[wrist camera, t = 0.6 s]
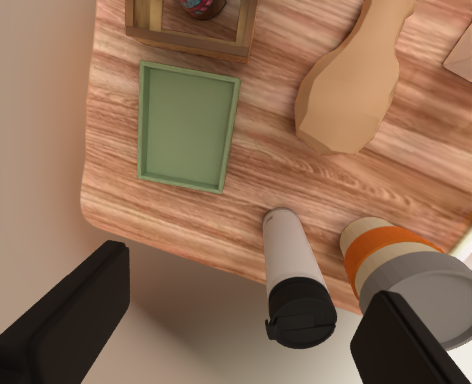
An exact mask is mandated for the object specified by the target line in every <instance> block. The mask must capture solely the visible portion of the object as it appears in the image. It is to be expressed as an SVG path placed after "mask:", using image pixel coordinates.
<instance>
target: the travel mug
mask: <svg viewBox="0 0 472 384" xmlns="http://www.w3.org/2000/svg"><path fill="white" fill-rule="evenodd" d="M262 227H263V242H264V256H265V270H266V285H267V299H268V306H269V316H270V319H271V320H270V322H269V325H268V320H266V321H265V325H266V331H267V335H268V337H269V339H270V340H276V341H277V342H278V343H280V344H281V345H283V346H286V347H288V348H293V349H306V348H310V347H314V346H316V345H319V344H320V343H322V342H324V341H325V340H326V339H328V338H329V337H330V336H331V334H332V333H333V332H334V329H335V327H336V325H335V323H336V321H337V313H336V310H335V307H334V305H333V302H332V300H331V297H330V293H329V291H328V289H327V286H326V284H325V281H324V279H323V276H322V274H321V271H320V269H319V267H318V264H317V262H316V259H315V257H314V254H313V252H312V249H311V247H310V245H309V242H308V240H307V237H306V235H305V232H304V230H303V228H302V225H301V223H300V220H299V218H298V216H297V215H296V213H295V212H293V211H292V210H290V209H287V208H275V209H273V210H271V211H269V212H268V213H267V214H266V215H265V217H264V219H263V222H262Z"/></svg>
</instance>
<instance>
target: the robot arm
mask: <svg viewBox="0 0 472 384" xmlns="http://www.w3.org/2000/svg"><path fill="white" fill-rule="evenodd" d="M129 274H130V269H129V248H128V247H126V246H125V243H122V242H117V241H112V240H108V241H106V242H105V243H104V244H103V245H102V246H100V247H99V248H98V249H97V250H96V251H95V252H94V253H92V255H90V256H89V257H88V258H87V259H86V260H85V261H83V262H82V263H81V264H80V265H79V266H78V267H77V268H76V269H75V270H74V271H72V272H71V273H70V274H69V275H67V276H66V277H65V278H63V279H62V280H61V281H60V282H59V283H58V284H57V285H56V286H55V287H53V288H52V289H51V290H50V291H49V292H48V293H47V294H46V295H44V297H42V298H41V299H40V300H39V301H38V302H37V303H36V304H34V305H33V306H32V307H31V308H30V309H29V310H28V311H26V312H25V313H24V314H23V315H22V316H21V317H20V318H19V319H17V320H16V321H15V322H14V323H13V324H12V325H11V326H10V327H8V328H7V329H6V330H5V331H4V332H3V333H2V334H1V335H0V384H81V382H82V380H83V379H84V377H85V376H86V374H87V373H88V371H89V369H90V368H91V366H92V365H93V363H94V362H95V360H96V358H97V357H98V355H99V353H100V352H101V350H102V349H103V347H104V346H105V344H106V343H107V341H108V339H109V338H110V336H111V335H112V333H113V331H114V330H115V328H116V327H117V325H118V324H119V322H120V320H121V319H122V317H123V315H124V314H125V313H126V311H127V309H128V306H129V303H130V275H129ZM350 350H351V354H352V356H353V359H354V362H355V364H356V367H357V369H358V371H359V374H360V377H361V379H362V382H363V384H471V383H470V381H469V380H468V379H467V378H466V377H465V375H464V374H463V373H462V371H461V370H460V369H459V367H458V366H457V365H456V364H455V362H454V361H453V360H452V359H451V357H450V356H449V355H448V353H447V352H446V351H445V350H444V348H443V347H442V346H441V344H440V343H439V342H438V341H437V339H436V338H435V337H434V336H433V334H432V333H431V332H430V330H429V329H428V328H427V327H426V325H425V324H424V323H423V322H422V320H421V319H420V318H419V316H418V315H417V314H416V313H415V311H414V310H413V309H412V308H411V306H410V305H409V304H408V303H407V301H406V300H405V299H404V297H403V296H402V295H401V294H399V293H397V292H392V291H386V290H380V291H379V292H378V293H375V294H374V295H373V297H372V299H371V301H370V303H369V305H368V307H367V310H366V312H365V314H364V316H363V318H362V320H361V322H360V324H359V326H358V328H357V330H356V332H355V334H354V336H353V338H352V340H351V343H350Z"/></svg>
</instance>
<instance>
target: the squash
mask: <svg viewBox="0 0 472 384" xmlns="http://www.w3.org/2000/svg"><path fill="white" fill-rule="evenodd" d="M416 2H417V0H364V2H363V5H362V9H361V15H360V17H359V19H358V21H357V23H356V25H355V27H354V29H353V31H352V32H351V33H350V35H349V36H348V37H347V38H346V39H345V40H344V42H343V43H342V44H341V45H340V46H339V47H338V48H337V49H335V50H333V51H332V52H330V53H328V54H326V55H324V56H322V57H320V59H319V60H318V61H317V63H316V64H315V65H314V66H313V68H312V69H311V70H310V72H309V73H308V74H307V75H306V77H305V78H304V79H303V80H302V82H301V85H300V88H299V91H298V94H297V97H296V100H295V104H294V112H295V125H296V136H297V137H299V138H300V139H301V140H302V141H303V142H305V143H306V144H307V145H308V146H310V147H311V148H312V149H313V150H314V151H316V152H317V153H318V154H319V155H320V156H324V155H338V154H351V155H355V154H356V153H357V152H358V151H359V150H360V149H362V148H363V147H364V146H365V145H366V144H367V143H369V142H370V141H371V140H372V139H373V137H374V136H375V134H376V132H377V130H378V128H379V126H380V124H381V122H382V120H383V118H384V116H385V114H386V112H387V110H388V108H389V107H390V105H391V102H392V99H393V96H394V93H395V89H396V86H397V82H398V78H399V62H398V60H397V58H396V57H395V45H396V42H397V39H398V37H399V34H400V32H401V29H402V26H403V24H404V21H405V19H406V18H408V17H409V16H410V15H412V14H413V12H414V9H415V6H416Z"/></svg>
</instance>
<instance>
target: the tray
mask: <svg viewBox="0 0 472 384" xmlns="http://www.w3.org/2000/svg"><path fill="white" fill-rule="evenodd" d="M240 86H241V79H240V78H235V77H230V76H225V75H219V74H214V73H208V72H203V71H197V70H192V69H187V68H181V67H176V66H170V65H165V64H159V63H154V62H148V61H143V60H140V67H139V113H138V159H137V178H138V179H143V180H149V181H154V182H159V183H164V184H170V185H175V186H180V187H185V188H191V189H196V190H201V191H206V192H212V193H217V194H222V191H223V189H224V183H225V177H226V171H227V165H228V159H229V153H230V147H231V141H232V135H233V129H234V123H235V116H236V110H237V104H238V98H239V92H240Z"/></svg>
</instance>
